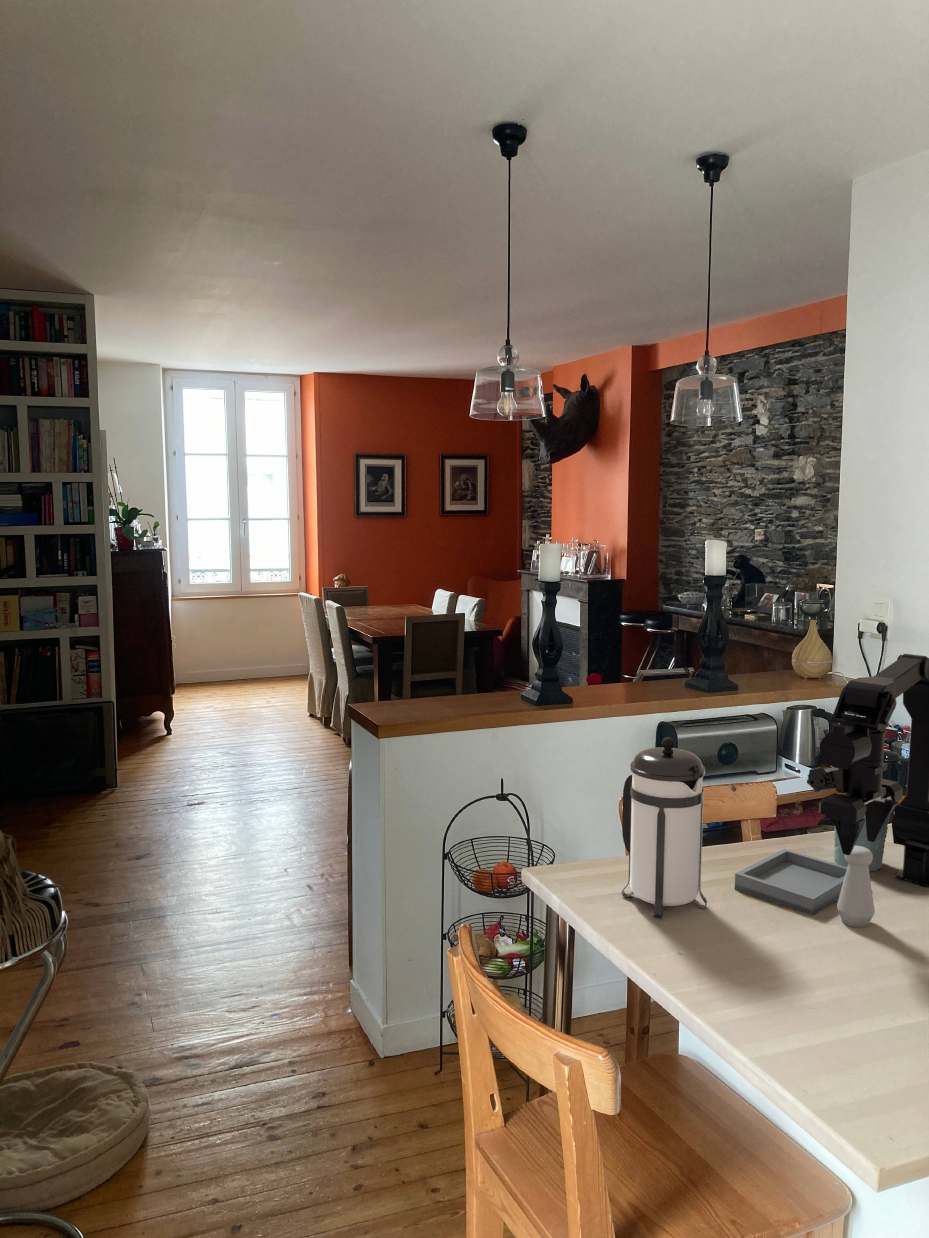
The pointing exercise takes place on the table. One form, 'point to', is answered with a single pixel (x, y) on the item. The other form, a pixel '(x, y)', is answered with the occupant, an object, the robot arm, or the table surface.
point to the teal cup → (874, 847)
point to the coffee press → (664, 826)
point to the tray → (793, 881)
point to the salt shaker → (857, 889)
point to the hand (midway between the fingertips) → (858, 847)
